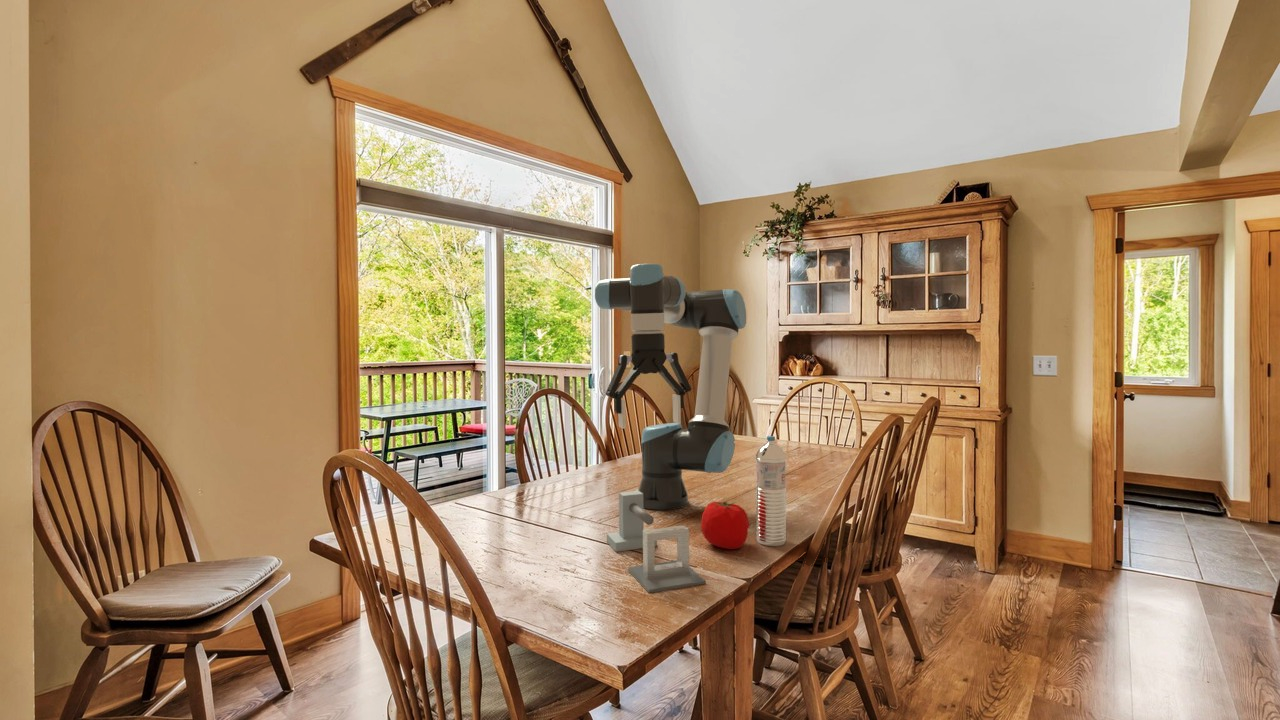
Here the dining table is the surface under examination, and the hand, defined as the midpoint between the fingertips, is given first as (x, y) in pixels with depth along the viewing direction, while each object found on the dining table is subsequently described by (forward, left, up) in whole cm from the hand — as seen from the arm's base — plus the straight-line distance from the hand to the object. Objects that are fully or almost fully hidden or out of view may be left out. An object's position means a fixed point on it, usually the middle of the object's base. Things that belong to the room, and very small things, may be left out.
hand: (650, 425), depth 138 cm
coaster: (+4, +17, -28) cm, 33 cm away
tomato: (-16, +5, -29) cm, 33 cm away
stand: (+4, +1, -28) cm, 28 cm away
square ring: (+3, +17, -28) cm, 33 cm away
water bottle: (-27, +7, -29) cm, 40 cm away
